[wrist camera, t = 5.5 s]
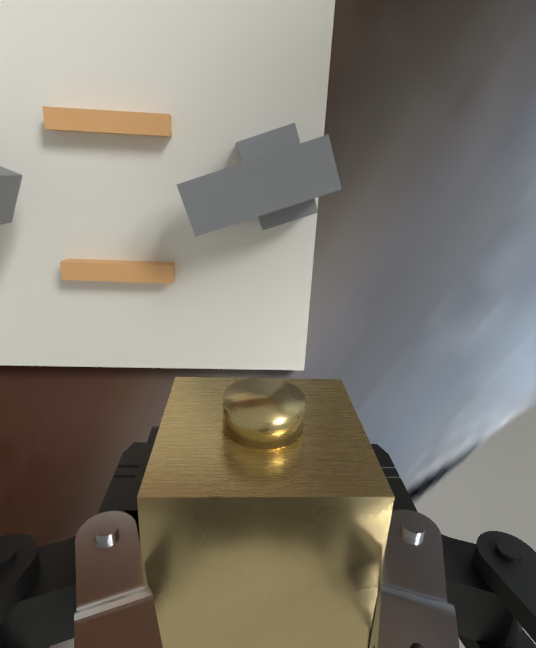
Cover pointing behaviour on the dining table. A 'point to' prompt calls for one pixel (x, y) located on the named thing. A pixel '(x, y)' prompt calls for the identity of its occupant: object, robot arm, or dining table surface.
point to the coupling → (262, 516)
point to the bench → (161, 180)
